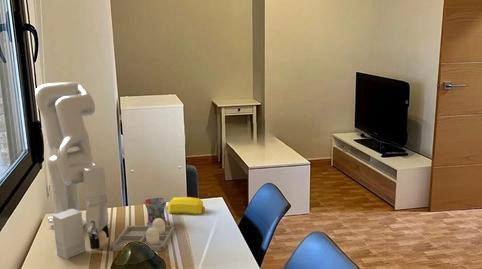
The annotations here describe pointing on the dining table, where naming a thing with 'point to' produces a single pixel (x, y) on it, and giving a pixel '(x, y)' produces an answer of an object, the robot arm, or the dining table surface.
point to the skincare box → (69, 233)
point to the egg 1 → (102, 239)
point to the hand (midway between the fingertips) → (100, 242)
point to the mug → (155, 209)
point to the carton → (141, 237)
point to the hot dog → (185, 205)
